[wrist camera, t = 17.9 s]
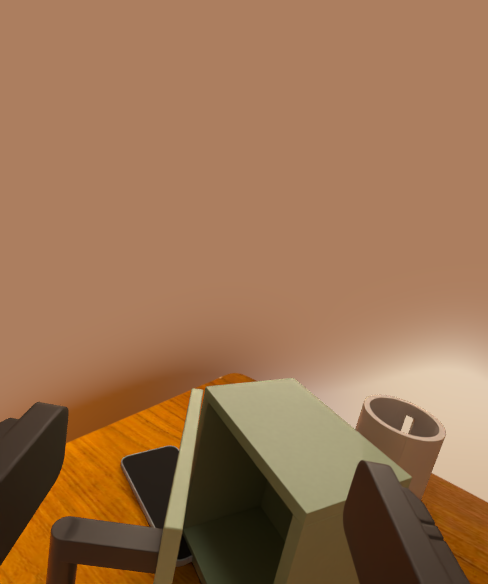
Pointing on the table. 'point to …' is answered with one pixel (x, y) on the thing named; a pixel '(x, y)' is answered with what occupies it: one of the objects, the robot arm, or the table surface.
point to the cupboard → (273, 486)
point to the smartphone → (155, 487)
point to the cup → (403, 436)
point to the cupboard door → (129, 528)
